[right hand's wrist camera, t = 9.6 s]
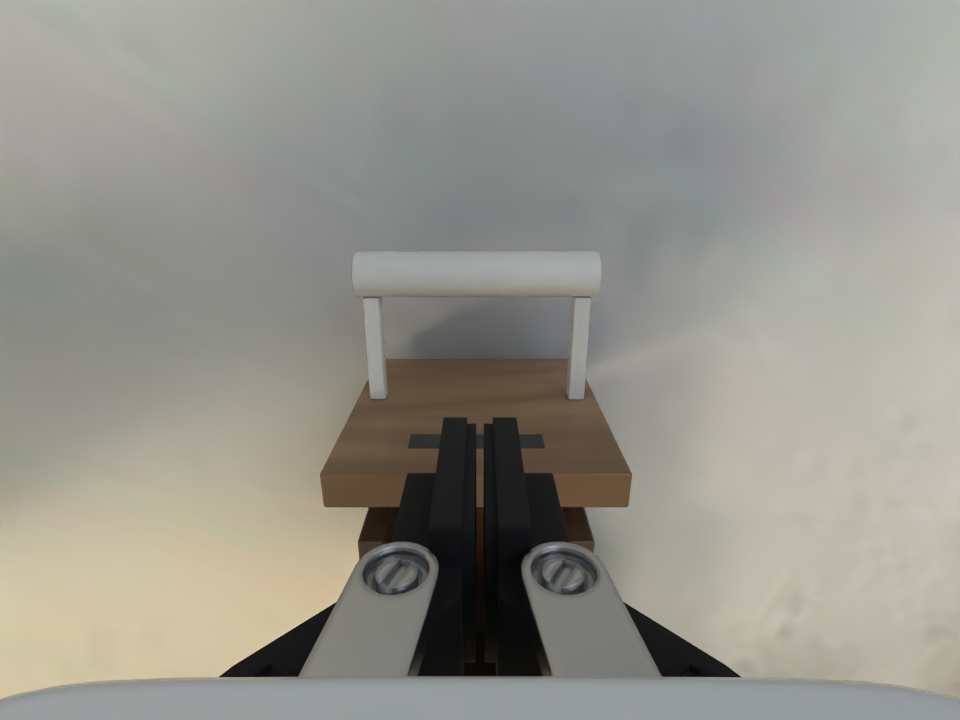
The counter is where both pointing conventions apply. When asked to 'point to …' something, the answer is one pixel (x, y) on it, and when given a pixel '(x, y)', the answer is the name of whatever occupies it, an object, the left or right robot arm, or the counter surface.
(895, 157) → the counter surface
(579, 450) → the drawer
